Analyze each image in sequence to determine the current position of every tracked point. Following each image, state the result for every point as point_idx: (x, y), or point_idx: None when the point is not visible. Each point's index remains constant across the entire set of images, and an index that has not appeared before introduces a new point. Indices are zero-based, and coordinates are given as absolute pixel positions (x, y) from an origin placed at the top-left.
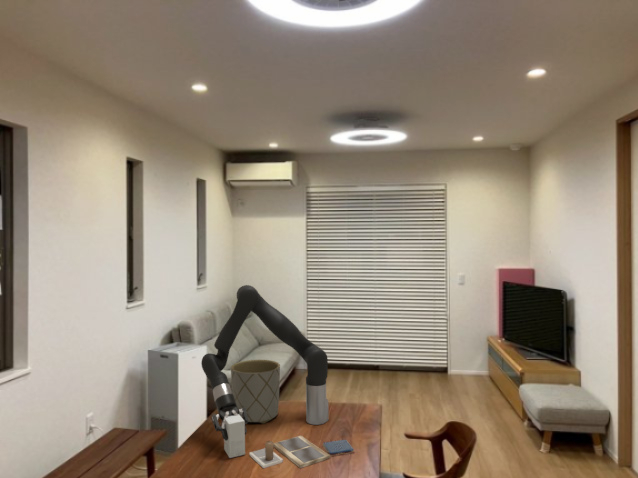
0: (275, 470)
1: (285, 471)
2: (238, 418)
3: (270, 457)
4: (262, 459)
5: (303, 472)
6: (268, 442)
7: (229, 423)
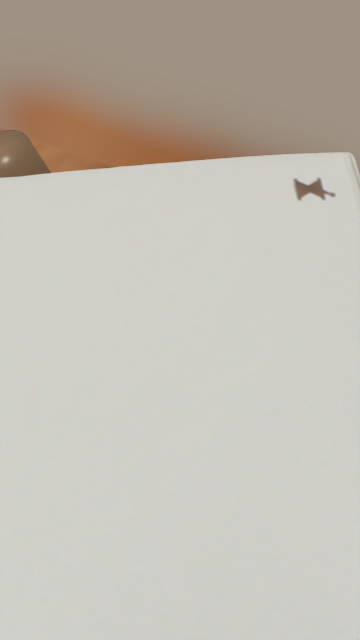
0: (80, 169)
1: (52, 152)
2: (38, 371)
3: None
4: None
5: (4, 130)
6: (3, 156)
7: (341, 174)
